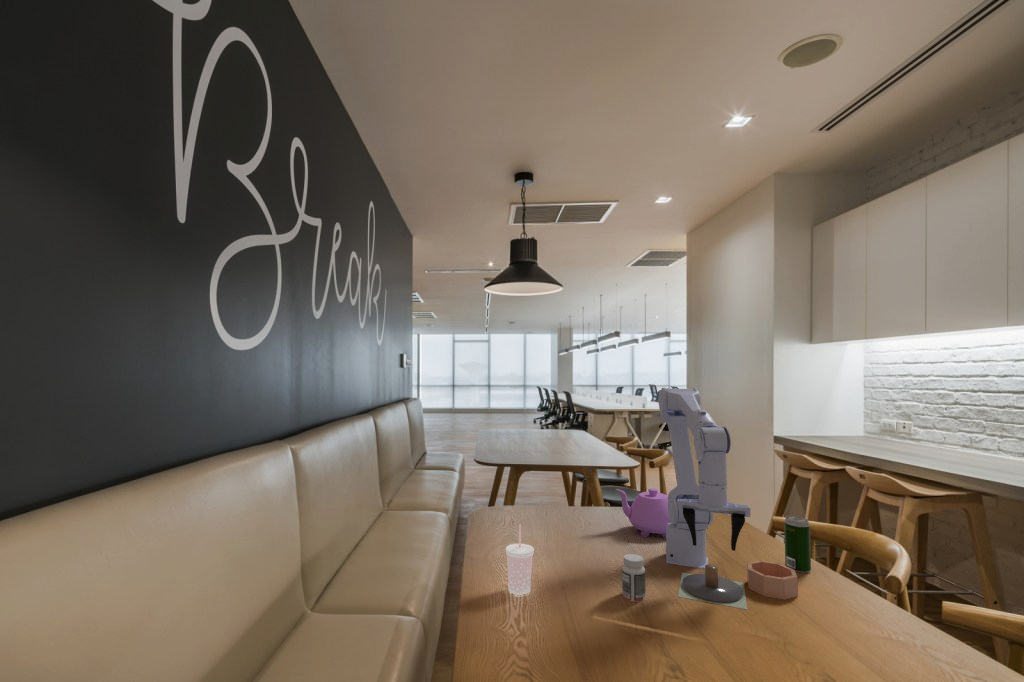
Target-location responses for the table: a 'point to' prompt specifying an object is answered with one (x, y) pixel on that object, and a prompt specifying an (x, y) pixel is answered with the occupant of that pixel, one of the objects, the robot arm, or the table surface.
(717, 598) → the lid
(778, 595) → the bowl
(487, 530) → the table surface
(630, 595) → the pill bottle
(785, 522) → the beer can
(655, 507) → the teapot
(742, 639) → the table surface
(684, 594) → the mat
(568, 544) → the table surface
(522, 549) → the beverage cup
